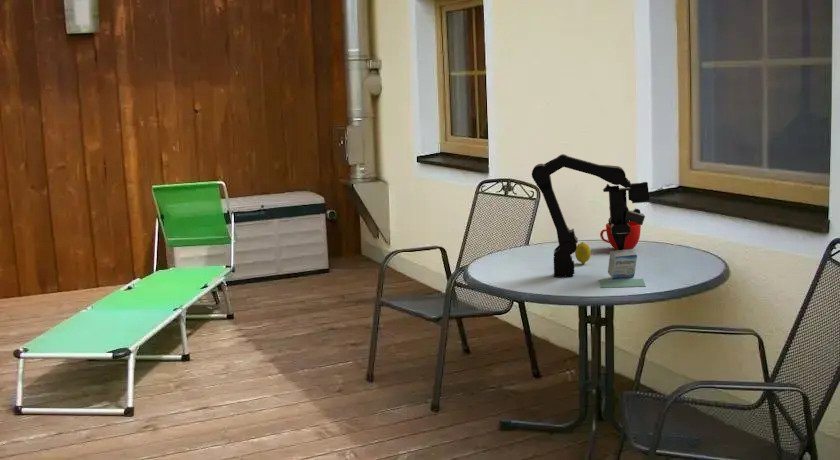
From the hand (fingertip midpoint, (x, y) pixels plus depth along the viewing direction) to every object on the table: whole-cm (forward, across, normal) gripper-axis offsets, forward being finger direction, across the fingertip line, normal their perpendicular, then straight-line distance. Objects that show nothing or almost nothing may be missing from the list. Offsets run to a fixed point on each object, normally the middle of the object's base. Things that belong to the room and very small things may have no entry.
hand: (620, 249), depth 326 cm
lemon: (+8, +18, +12) cm, 24 cm away
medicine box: (+8, -5, +1) cm, 9 cm away
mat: (+8, -15, +1) cm, 17 cm away
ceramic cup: (+9, +41, -2) cm, 42 cm away
